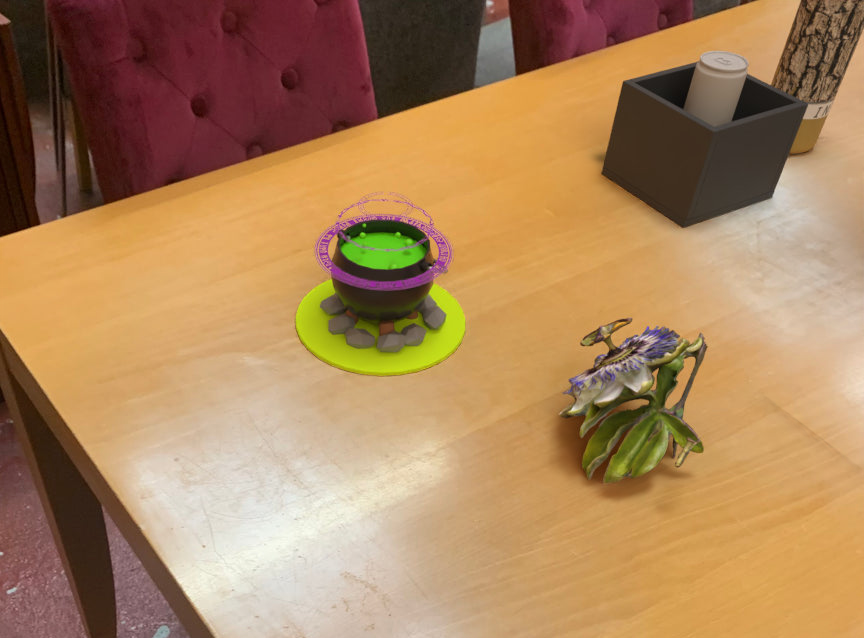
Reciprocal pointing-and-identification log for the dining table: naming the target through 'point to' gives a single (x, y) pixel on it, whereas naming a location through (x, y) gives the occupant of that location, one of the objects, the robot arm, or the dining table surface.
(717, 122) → the beverage can
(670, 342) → the passion flower
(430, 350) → the toy cauldron
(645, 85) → the bin
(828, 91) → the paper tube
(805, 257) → the dining table surface
